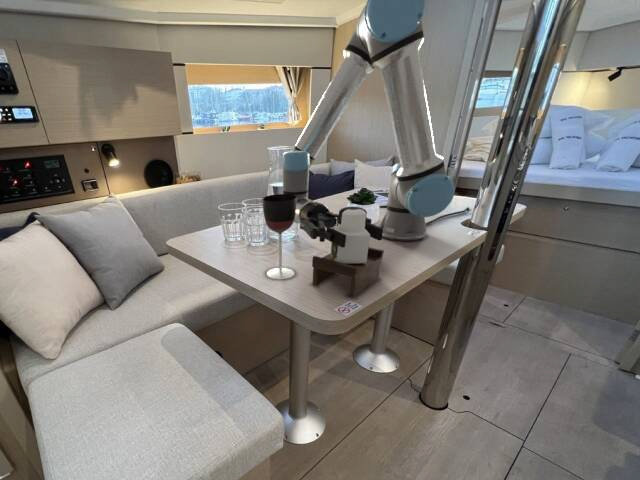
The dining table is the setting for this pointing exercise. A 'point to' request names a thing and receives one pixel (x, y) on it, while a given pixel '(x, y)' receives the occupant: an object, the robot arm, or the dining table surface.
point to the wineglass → (279, 225)
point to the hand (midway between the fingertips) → (362, 237)
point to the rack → (349, 270)
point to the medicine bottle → (352, 236)
